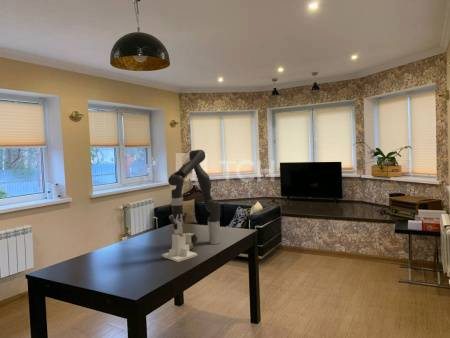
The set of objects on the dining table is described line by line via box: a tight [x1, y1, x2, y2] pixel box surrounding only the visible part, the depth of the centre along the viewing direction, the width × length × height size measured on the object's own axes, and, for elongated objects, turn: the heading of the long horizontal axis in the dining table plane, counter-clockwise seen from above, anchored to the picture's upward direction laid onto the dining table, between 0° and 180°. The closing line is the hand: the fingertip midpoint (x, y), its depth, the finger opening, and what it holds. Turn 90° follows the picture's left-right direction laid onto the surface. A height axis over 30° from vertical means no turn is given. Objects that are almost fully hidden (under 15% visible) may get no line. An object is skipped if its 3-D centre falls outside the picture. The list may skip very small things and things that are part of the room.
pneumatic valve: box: [184, 232, 198, 250], centre depth 250 cm, size 6×12×12 cm, turn 56°
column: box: [173, 220, 184, 235], centre depth 231 cm, size 4×4×20 cm
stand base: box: [161, 233, 198, 263], centre depth 232 cm, size 17×18×16 cm
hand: (178, 228), depth 231 cm, fingers closed on column, 4 cm apart
